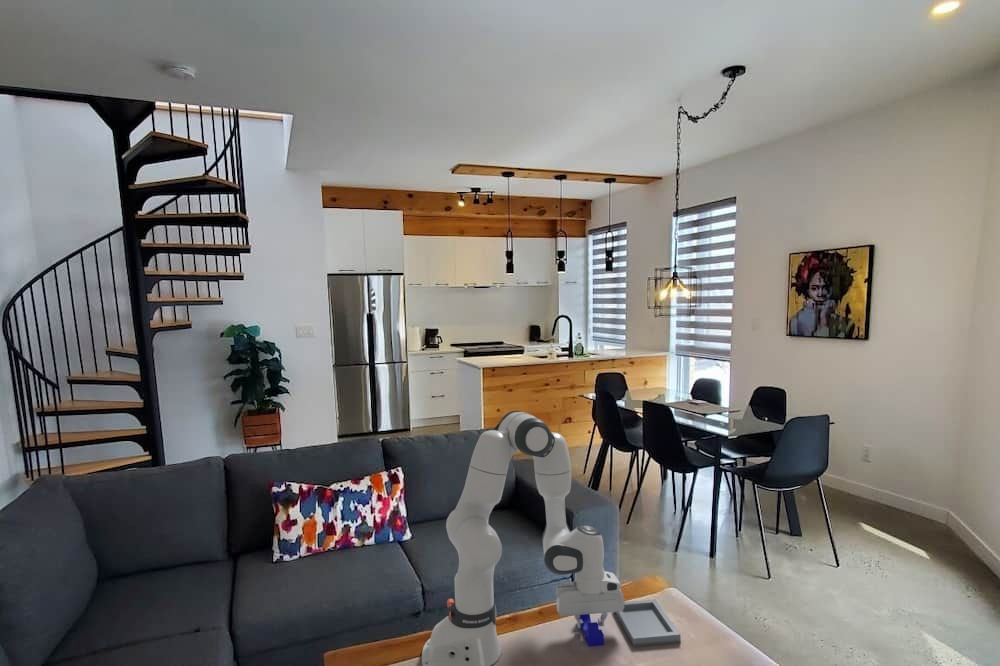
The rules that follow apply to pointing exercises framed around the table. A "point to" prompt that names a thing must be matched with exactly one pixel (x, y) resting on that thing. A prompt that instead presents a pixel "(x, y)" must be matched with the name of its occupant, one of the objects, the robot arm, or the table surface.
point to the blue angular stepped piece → (592, 631)
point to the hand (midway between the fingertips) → (590, 626)
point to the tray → (647, 624)
